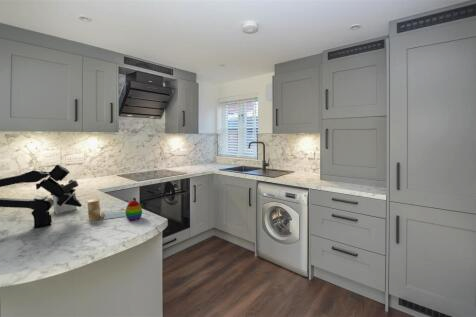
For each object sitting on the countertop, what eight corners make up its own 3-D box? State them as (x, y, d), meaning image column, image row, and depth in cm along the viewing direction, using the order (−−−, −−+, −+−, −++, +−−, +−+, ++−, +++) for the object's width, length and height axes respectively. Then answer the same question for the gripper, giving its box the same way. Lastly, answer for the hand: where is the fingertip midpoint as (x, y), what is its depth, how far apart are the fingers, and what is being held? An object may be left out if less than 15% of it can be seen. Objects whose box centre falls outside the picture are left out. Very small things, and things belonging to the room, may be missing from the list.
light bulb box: (73, 207, 158) (72, 190, 157) (77, 209, 154) (76, 192, 153) (53, 211, 150) (51, 194, 149) (56, 213, 146) (55, 195, 145)
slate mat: (100, 220, 132) (100, 217, 132) (101, 215, 141) (101, 212, 141) (126, 216, 138) (125, 213, 138) (125, 211, 147) (125, 209, 147)
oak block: (88, 220, 132) (87, 202, 131) (90, 217, 137) (88, 199, 136) (99, 219, 134) (98, 201, 133) (100, 216, 139) (99, 198, 138)
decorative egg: (123, 219, 133) (122, 201, 132) (137, 215, 139) (136, 198, 138) (130, 222, 128) (129, 203, 127) (145, 218, 134) (144, 200, 133)
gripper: (62, 178, 120) (90, 197, 126) (69, 173, 137) (94, 191, 143) (44, 196, 118) (73, 215, 123) (53, 189, 134) (79, 206, 140)
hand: (81, 206), depth 132 cm, fingers closed
